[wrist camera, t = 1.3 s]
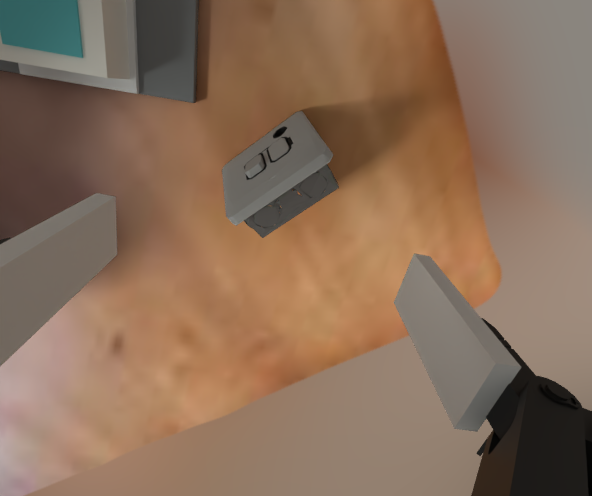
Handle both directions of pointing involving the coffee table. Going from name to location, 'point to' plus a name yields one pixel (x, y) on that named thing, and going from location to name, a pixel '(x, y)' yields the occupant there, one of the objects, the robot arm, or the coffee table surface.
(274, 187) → the electrical switch
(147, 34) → the rail board
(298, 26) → the coffee table surface
